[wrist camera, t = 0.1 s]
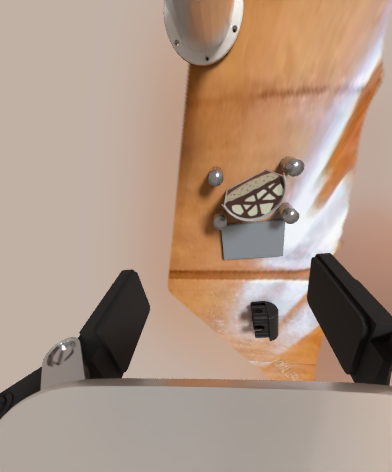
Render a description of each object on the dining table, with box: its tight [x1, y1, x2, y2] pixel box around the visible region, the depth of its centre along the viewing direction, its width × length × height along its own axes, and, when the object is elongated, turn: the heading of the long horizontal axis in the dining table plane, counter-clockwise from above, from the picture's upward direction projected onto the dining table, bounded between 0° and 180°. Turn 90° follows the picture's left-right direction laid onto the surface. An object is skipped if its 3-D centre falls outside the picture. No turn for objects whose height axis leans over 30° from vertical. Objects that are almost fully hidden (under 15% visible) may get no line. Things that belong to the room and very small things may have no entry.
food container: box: [221, 169, 287, 221], centre depth 40 cm, size 12×6×10 cm, turn 120°
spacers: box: [208, 157, 304, 230], centre depth 42 cm, size 13×18×5 cm
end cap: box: [251, 301, 278, 341], centre depth 59 cm, size 10×7×7 cm
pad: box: [221, 219, 285, 260], centre depth 50 cm, size 10×15×1 cm, turn 99°
